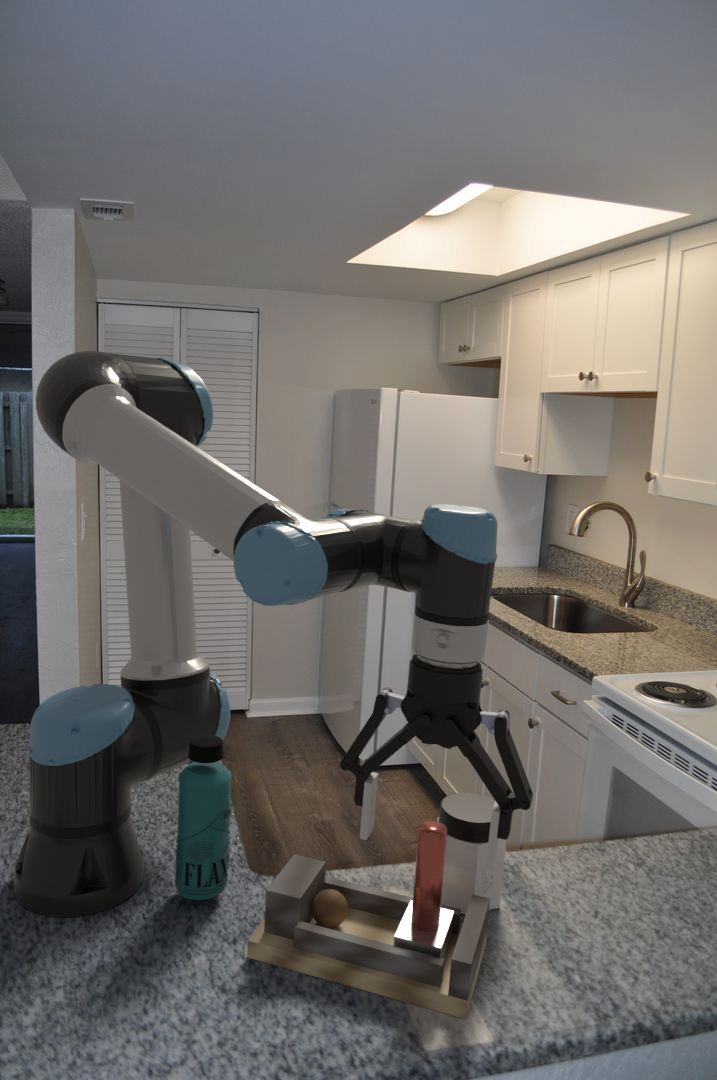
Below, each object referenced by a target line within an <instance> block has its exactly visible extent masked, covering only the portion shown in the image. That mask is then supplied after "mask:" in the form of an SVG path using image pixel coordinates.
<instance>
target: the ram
mask: <svg viewBox="0 0 717 1080" xmlns="http://www.w3.org/2000/svg"><path fill="white" fill-rule="evenodd" d="M417 831H418V833H417V844H416V845H417V846H416V847H417V848H416V856H415V857H416V858H415V859H416V860H415V870H414V871H415V873H414V883H413V884H414V885H413V894H412V895H413V896H412V897H413V901H412V900H411V901H410V903H409V905H408V907H407V909H406V912H405V914H404V916H403V918H402V920H401V923H400V925H399V927H398V929H397V931H396V934H395V936H394V946H397V947H401V948H405V949H409V950H412V951H416V952H420V953H424V954H428V955H431V956H435V957H439V958H443V959H444V958H445V955H446V952H447V949H448V946H449V944H450V941H451V938H452V932H453V921H454V911H453V910H449V909H445V908H441V897H442V885H443V873H444V861H445V850H446V838H447V827H446V826H445V825H444V824H442V823H440V822H437V820H424V821H422V822H420V823H419V825H418V830H417Z"/></svg>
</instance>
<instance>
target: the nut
mask: <svg viewBox="0 0 717 1080" xmlns="http://www.w3.org/2000/svg"><path fill="white" fill-rule="evenodd" d="M347 911H348V906H347V902H346V899H345V897H344V896H343V895H342V894H341V893H340V892H339V891H337V890H333V889H327V890H323V891H322V892H320V893H319V894H318V895H317V896H316V897H315V899H314V901H313V904H312V914H313V917H314V919H315V921H316V922H317V923H318V924H319V925H320V926H322V927H324V928H335V927H337V926H339V925H340V924H341V923H342V922H343V921H344V920H345V918H346V915H347Z"/></svg>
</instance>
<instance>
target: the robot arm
mask: <svg viewBox="0 0 717 1080" xmlns="http://www.w3.org/2000/svg"><path fill="white" fill-rule="evenodd" d="M35 409H36V414H37V417H38V421H39V423H40V425H41V427H42V428H43V431H44V432H45V434H46V435H47V437H49V439H50V441H51V440H52V442H53V443H54V444H55V445H56V446H58V448H60V449H61V450H62V451H63V452H65V453H66V454H68V455H69V456H71V458H73V459H75V460H76V461H78V462H80V463H83V464H88V465H95V464H97V465H98V466H100V467H101V468H103V469H105V470H106V471H107V472H108V473H109V474H112V476H114V477H115V478H116V479H118V480H119V493H120V507H121V521H122V522H121V524H122V536H123V537H122V538H123V552H124V553H123V554H124V569H125V582H126V583H125V584H126V598H127V612H128V613H127V614H128V626H129V627H128V628H129V642H130V659H129V660H128V662H127V663H126V664H125V665H124V666H123V667H122V668H121V670H120V686H119V685H115V684H109V683H94V684H92V685H90V686H86V685H79V686H74V687H72V688H71V687H70V688H68V689H65V690H62V691H59V692H57V693H55V694H53V695H52V696H50V697H49V696H48V698H46V699H45V700H43V702H42V703H40V704H39V706H38V707H37V708H36V709H35V711H34V713H33V715H32V718H31V722H30V733H29V739H28V741H27V742H28V744H27V749H28V751H27V752H28V755H29V826H28V827H29V828H28V830H27V833H26V836H25V838H24V841H23V843H22V846H21V849H20V852H19V854H18V855H19V856H18V858H17V861H16V864H15V867H14V871H13V894H14V897H15V899H16V901H17V902H18V903H19V904H20V905H21V906H23V908H26V909H28V910H29V911H32V912H34V913H37V914H40V915H44V916H49V917H65V918H66V917H80V916H86V915H87V916H88V915H91V914H95V913H98V912H103V911H106V910H108V909H110V908H113V907H115V906H118V905H119V904H121V903H123V902H124V901H126V900H128V899H129V898H130V897H131V896H132V895H134V893H136V892H137V890H138V889H139V888H140V887H141V884H143V883H142V882H143V880H144V877H145V876H144V872H145V857H144V852H143V851H142V848H141V846H140V844H139V840H138V835H137V833H136V830H135V827H134V824H133V820H132V816H131V815H132V813H131V810H132V809H131V808H132V807H131V806H132V788H133V787H135V786H136V785H139V784H141V783H144V782H145V781H148V780H151V779H154V778H155V777H157V776H161V775H163V774H165V773H167V772H170V771H172V770H175V769H178V768H180V767H182V766H186V765H190V764H191V763H193V762H194V761H191V760H190V759H189V757H188V753H189V747H190V741H191V739H192V738H194V737H197V736H200V735H214V736H218V737H220V738H221V739H222V740H223V741H224V738H225V736H226V734H227V732H228V729H229V724H230V719H231V705H230V703H231V702H230V698H229V694H228V692H227V690H226V689H225V688H223V687H222V685H223V683H222V680H221V679H219V678H218V676H217V675H215V674H214V673H213V672H211V669H210V662H209V661H208V660H207V659H206V658H205V657H203V656H202V655H201V654H200V653H199V651H198V644H197V643H198V642H197V627H196V614H195V613H196V612H195V596H194V595H195V594H194V593H195V592H194V579H193V576H194V575H193V560H192V559H193V558H192V545H191V541H192V540H191V532H192V533H193V534H195V535H196V536H198V537H199V538H201V539H202V540H204V542H206V543H207V544H209V545H211V547H212V548H214V549H216V550H218V551H219V552H220V553H222V555H224V556H226V557H227V558H229V559H230V560H231V561H233V569H234V575H235V578H236V581H237V582H239V583H240V586H241V587H242V591H243V593H244V595H246V596H247V597H248V598H249V599H250V600H252V601H253V602H255V603H257V604H260V605H262V606H267V607H277V606H284V605H286V606H292V605H298V604H302V603H306V602H308V601H311V600H314V599H318V598H321V597H322V598H323V597H326V596H330V595H333V594H334V595H335V594H337V593H343V592H348V591H351V590H355V589H359V588H364V587H368V586H380V587H384V588H391V589H394V590H399V591H404V592H406V593H407V592H408V593H415V603H414V604H415V605H414V606H415V607H414V615H413V623H412V635H411V645H410V647H411V650H412V652H413V654H412V655H411V656H410V658H409V665H408V676H407V686H406V693H405V696H404V695H400V694H397V693H394V692H393V690H392V689H391V688H390V687H384V688H383V689H382V690H381V691H379V693H378V694H377V695H376V697H375V701H374V705H373V708H372V709H373V710H372V714H371V715H370V716H369V718H368V719H367V721H366V722H365V724H364V725H363V727H362V729H361V730H360V732H359V733H358V735H357V736H356V738H355V739H354V741H353V743H352V744H351V746H350V747H349V748H348V750H347V751H346V753H345V755H343V757H342V759H341V760H340V762H339V766H340V769H341V770H343V771H349V772H351V773H352V774H353V775H354V777H355V786H354V788H355V789H354V799H353V800H354V801H353V802H354V804H355V806H359V807H362V808H361V816H360V817H361V818H360V829H359V830H360V831H359V840H360V839H361V840H364V841H367V840H368V838H369V837H370V835H371V833H372V832H373V831H374V828H375V827H374V825H375V815H376V806H377V794H378V782H379V773H378V772H375V771H376V769H378V768H379V767H380V766H381V765H383V764H384V763H385V762H386V761H387V760H388V759H390V757H392V756H393V755H394V754H395V753H396V752H398V751H399V750H400V749H401V748H403V747H404V746H405V745H407V744H408V743H409V742H410V741H411V740H413V738H415V737H416V738H417V739H418V740H419V741H421V744H424V745H438V746H439V747H442V748H444V749H449V750H452V748H456V747H457V748H458V749H459V751H460V752H461V754H462V756H463V757H464V758H467V760H468V762H469V763H470V764H471V766H472V767H473V769H474V771H475V772H476V774H477V775H478V776H479V778H480V780H481V781H482V783H483V784H484V786H485V787H486V789H487V790H488V792H489V793H490V795H491V796H492V799H494V800H495V804H494V807H493V809H492V816H491V824H490V833H489V842H488V850H487V859H486V867H485V870H489V871H493V868H494V865H495V861H496V857H497V849H498V840H499V838H500V839H504V840H506V841H507V840H508V838H509V837H510V833H511V829H512V820H513V813H514V811H516V810H523V811H528V810H530V808H531V806H532V803H533V802H532V801H533V799H534V798H533V797H534V793H533V791H532V790H533V789H532V787H531V785H530V782H529V780H528V777H527V774H526V771H525V769H524V766H523V763H522V761H521V758H520V755H519V752H518V750H517V747H516V744H515V742H514V739H513V737H512V734H511V731H510V726H511V725H510V724H511V723H510V717H511V716H510V712H509V711H508V710H507V709H504V708H502V709H499V711H498V712H494V711H485V710H482V708H481V694H482V693H481V691H482V682H483V673H484V665H483V664H482V662H481V660H483V659H484V658H485V657H486V655H485V654H486V646H487V638H488V631H489V630H488V629H489V623H490V622H489V616H490V606H491V605H490V603H491V597H492V589H493V581H494V573H495V565H496V562H497V559H498V553H497V541H498V520H497V517H496V516H495V515H494V514H493V513H492V512H491V511H489V510H487V509H484V508H481V507H475V506H468V505H467V506H466V505H458V504H448V503H447V504H446V503H444V504H443V503H442V504H441V503H440V504H439V503H438V504H432V505H429V506H427V507H426V508H425V510H424V513H423V517H422V519H421V520H418V519H409V518H404V517H399V516H393V515H388V514H383V513H377V512H373V511H372V512H371V511H369V510H368V509H361V508H359V509H349V508H348V509H347V508H338V509H337V508H336V509H334V510H332V511H330V512H329V514H328V515H327V516H325V517H324V518H315V519H312V518H309V517H306V516H304V515H302V514H301V513H300V512H298V511H296V509H293V508H292V507H290V506H288V505H287V504H285V503H283V502H282V501H281V500H280V499H278V498H276V497H275V496H273V495H271V494H270V493H268V492H267V491H266V490H264V489H262V488H260V487H259V486H258V485H256V484H254V483H253V482H251V481H250V480H248V479H247V478H246V477H243V476H242V475H241V474H239V473H238V472H236V471H234V469H232V468H230V467H228V466H227V465H225V464H224V463H222V462H220V461H219V460H218V459H216V458H214V457H213V456H212V455H210V454H208V453H207V452H206V451H204V450H202V449H201V448H199V446H200V445H202V444H203V443H204V442H205V441H206V440H207V437H208V435H209V434H208V432H210V431H211V429H212V427H213V422H214V407H213V401H212V397H211V393H210V391H209V389H208V386H207V385H206V383H205V382H204V379H202V378H201V377H200V375H198V374H197V373H196V372H195V370H194V369H192V368H191V367H189V366H187V365H186V364H184V363H180V362H175V361H171V360H168V359H167V358H162V357H159V358H157V357H148V356H136V355H130V354H129V355H128V354H121V353H119V354H118V353H110V352H105V351H100V350H99V351H98V350H85V351H84V350H83V351H82V350H81V351H75V352H73V353H70V354H67V355H65V356H63V357H61V358H59V359H57V360H56V361H55V362H54V363H52V364H51V365H50V366H49V368H48V369H46V371H45V373H44V374H43V375H42V377H41V379H40V381H39V383H38V385H37V388H36V395H35ZM396 709H400V710H401V711H400V712H402V714H403V716H404V718H405V719H406V721H407V723H406V724H405V725H403V727H401V729H399V731H397V732H395V734H394V735H392V737H390V738H389V739H388V740H387V741H385V742H384V743H383V744H382V745H381V746H380V747H379V748H377V749H376V750H375V751H374V752H373V753H371V754H370V755H369V756H368V757H367V758H364V759H362V758H361V757H360V756H361V755H362V753H363V752H364V750H365V749H366V747H367V745H368V744H369V742H370V740H371V739H372V737H373V736H374V735H375V733H376V731H377V730H378V729H379V727H380V726H381V724H382V722H383V721H384V719H385V718H386V716H387V715H391V714H393V713H394V712H395V710H396ZM481 724H482V725H484V726H485V727H486V728H487V732H488V733H489V734H490V735H492V736H493V735H494V741H495V742H494V743H495V745H496V748H497V750H498V753H499V756H500V759H501V762H502V764H503V768H504V770H505V772H506V775H507V777H508V778H507V779H508V781H509V783H510V786H511V787H510V786H509V784H508V783H507V781H506V780H505V779H504V777H503V775H502V773H501V772H500V771H499V769H498V768H497V766H496V765H495V763H494V761H493V760H492V758H491V757H490V755H489V754H488V753H487V751H486V750H485V748H484V747H483V745H482V744H481V743H482V742H481V740H480V738H479V736H478V734H477V733H476V730H477V728H479V727H480V725H481ZM511 788H512V789H511Z"/></svg>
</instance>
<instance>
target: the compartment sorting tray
mask: <svg viewBox="0 0 717 1080" xmlns="http://www.w3.org/2000/svg"><path fill="white" fill-rule="evenodd" d="M326 865H327V862H326V861H325V860H320V859H317V858H316V859H315V858H312V857H307V856H303V855H299V854H295V853H294V854H293V855H292V856H291V858H290V859H289V860H288V862H286V864H285V865H284V867H283V868H282V869H281V870H280V872H279V873H278V874H277V876H276V877H275V878H274V880H273V881H272V882H271V883H270V884H269V886H268V887H267V888H266V890H265V904H264V905H265V908H264V909H265V910H264V918H263V919H262V921H261V922H260V924H259V925H258V926H257V928H256V929H255V930H254V931H253V933H252V934H251V936H250V937H249V939H248V940H247V949H246V951H247V954H246V958H248V959H252V960H256V961H259V962H261V963H262V962H263V963H266V964H270V965H272V966H277V967H280V968H284V969H288V970H291V971H295V972H298V973H301V974H305V975H309V976H312V977H316V978H320V979H323V980H327V981H330V982H333V983H336V982H337V984H340V985H343V986H347V987H352V988H355V989H358V990H362V991H366V992H369V993H372V994H375V995H376V994H377V995H380V996H383V997H388V998H391V999H394V1000H398V1001H401V1002H405V1003H408V1004H412V1005H415V1006H418V1007H422V1008H426V1009H429V1010H433V1011H436V1012H440V1013H443V1014H447V1015H451V1016H454V1017H458V1018H461V1019H464V1020H467V1017H468V1013H469V1011H470V1006H471V1002H472V999H473V995H474V993H475V987H476V984H477V981H478V977H479V973H480V970H479V969H481V966H482V961H483V958H484V955H483V954H485V951H486V947H485V946H486V944H487V935H488V924H489V923H488V922H489V913H490V911H489V904H490V898H485V897H481V896H477V895H473V894H472V897H471V900H470V903H469V906H468V909H467V913H466V915H464V919H463V922H462V924H461V915H462V914H461V909H458V908H454V907H450V906H446V905H442V904H441V908H445V909H449V910H453V911H454V921H453V932H452V938H451V941H450V944H449V946H448V949H447V952H446V955H445V958H444V959H443V958H439V957H435V956H431V955H428V954H424V953H420V952H416V951H412V950H409V949H405V948H401V947H397V946H394V936H395V934H396V931H397V929H398V927H399V925H400V923H401V920H402V918H403V916H404V914H405V912H406V909H407V907H408V905H409V903H410V901H411V900H412V901H413V896H409V895H403V894H399V893H395V892H391V891H388V890H383V889H379V888H374V887H371V886H366V885H363V884H357V883H355V882H354V883H353V882H350V881H346V880H342V879H337V878H333V877H329V876H328V877H327V878H326V867H327V866H326ZM325 879H326V880H325ZM327 889H333V890H337V891H339V892H340V893H341V894H342V895H343V896H344V897H345V899H346V902H347V906H348V911H347V915H346V918H345V920H344V921H343V922H342V923H341V924H340V925H339V926H337V927H335V928H324V927H322V926H320V925H319V924H318V923H317V922H316V921H315V919H314V917H313V914H312V904H313V901H314V899H315V897H316V896H317V895H318V894H319V893H320V892H322V891H323V890H327ZM484 950H485V951H484ZM480 965H481V966H480Z"/></svg>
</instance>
